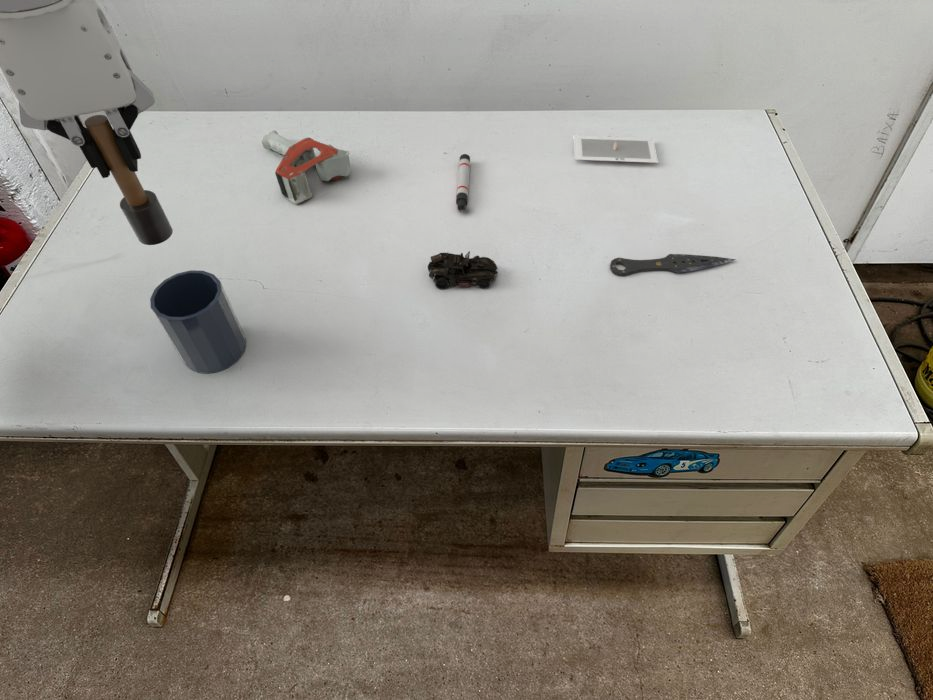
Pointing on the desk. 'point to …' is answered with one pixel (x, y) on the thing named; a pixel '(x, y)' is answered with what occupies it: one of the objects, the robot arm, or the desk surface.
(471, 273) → the toy car
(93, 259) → the desk surface
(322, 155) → the tape dispenser
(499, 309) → the desk surface
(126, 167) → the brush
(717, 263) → the throwing knife
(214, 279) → the pen cup
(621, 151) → the touchpad
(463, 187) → the marker
